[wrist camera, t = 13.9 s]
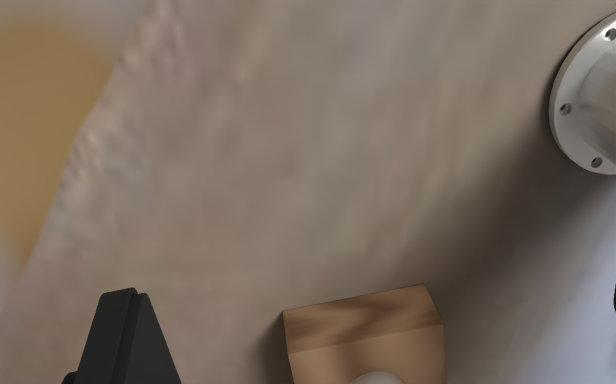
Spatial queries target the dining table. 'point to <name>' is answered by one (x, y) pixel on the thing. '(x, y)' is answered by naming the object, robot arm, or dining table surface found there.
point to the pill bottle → (377, 378)
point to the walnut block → (367, 338)
